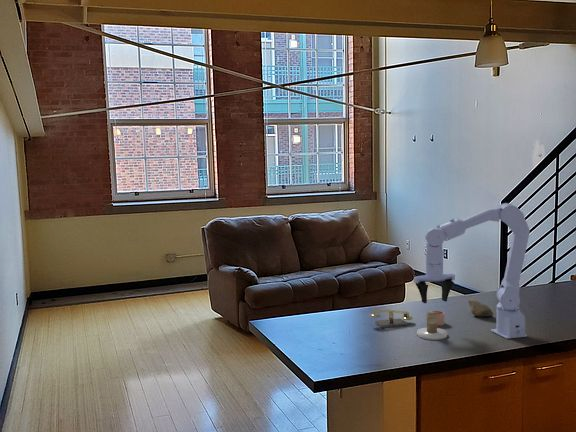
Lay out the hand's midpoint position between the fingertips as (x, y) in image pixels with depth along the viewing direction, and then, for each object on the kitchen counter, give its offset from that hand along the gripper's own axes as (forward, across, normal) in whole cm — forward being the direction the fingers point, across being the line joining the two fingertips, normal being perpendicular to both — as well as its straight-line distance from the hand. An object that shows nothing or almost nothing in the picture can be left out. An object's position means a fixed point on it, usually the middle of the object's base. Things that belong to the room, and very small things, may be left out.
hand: (434, 301), depth 203 cm
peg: (+9, +3, +4) cm, 10 cm away
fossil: (+11, -25, -12) cm, 30 cm away
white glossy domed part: (+10, +3, +4) cm, 12 cm away
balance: (+10, +11, -12) cm, 19 cm away
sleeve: (+10, -5, -8) cm, 14 cm away
